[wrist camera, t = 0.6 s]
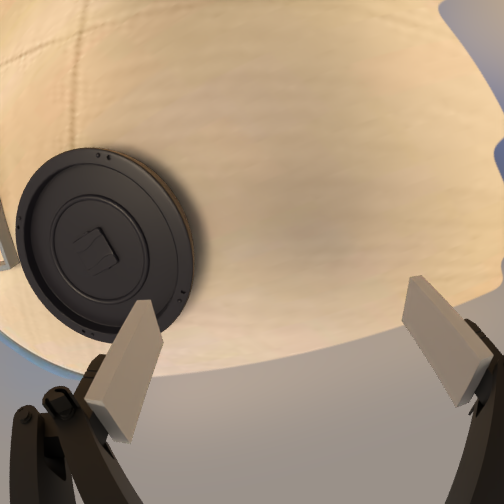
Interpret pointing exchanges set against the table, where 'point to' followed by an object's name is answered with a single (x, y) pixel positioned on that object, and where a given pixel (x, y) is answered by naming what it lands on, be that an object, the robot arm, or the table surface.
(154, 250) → the round tray
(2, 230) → the teal-dotted square tray
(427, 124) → the table surface
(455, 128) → the table surface
